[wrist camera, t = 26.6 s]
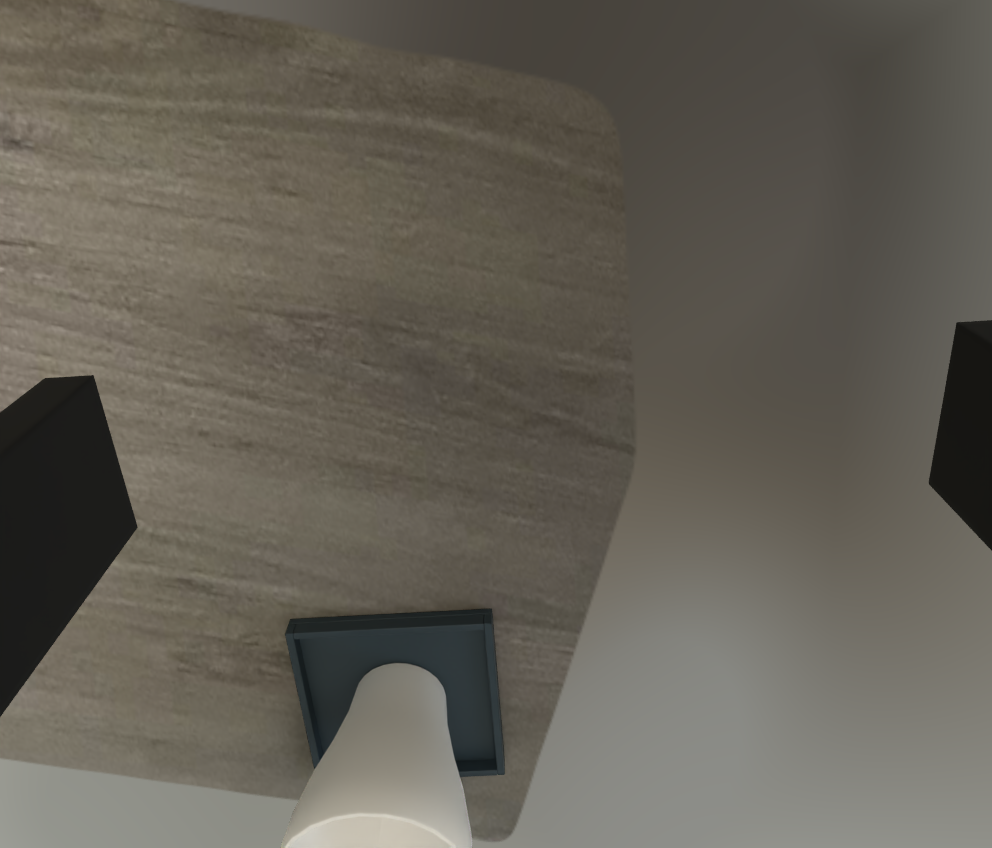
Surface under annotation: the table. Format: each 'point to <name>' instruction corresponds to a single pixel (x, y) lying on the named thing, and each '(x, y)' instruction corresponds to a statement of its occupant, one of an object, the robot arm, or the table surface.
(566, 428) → the table surface
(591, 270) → the table surface
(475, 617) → the frame
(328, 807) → the cup
